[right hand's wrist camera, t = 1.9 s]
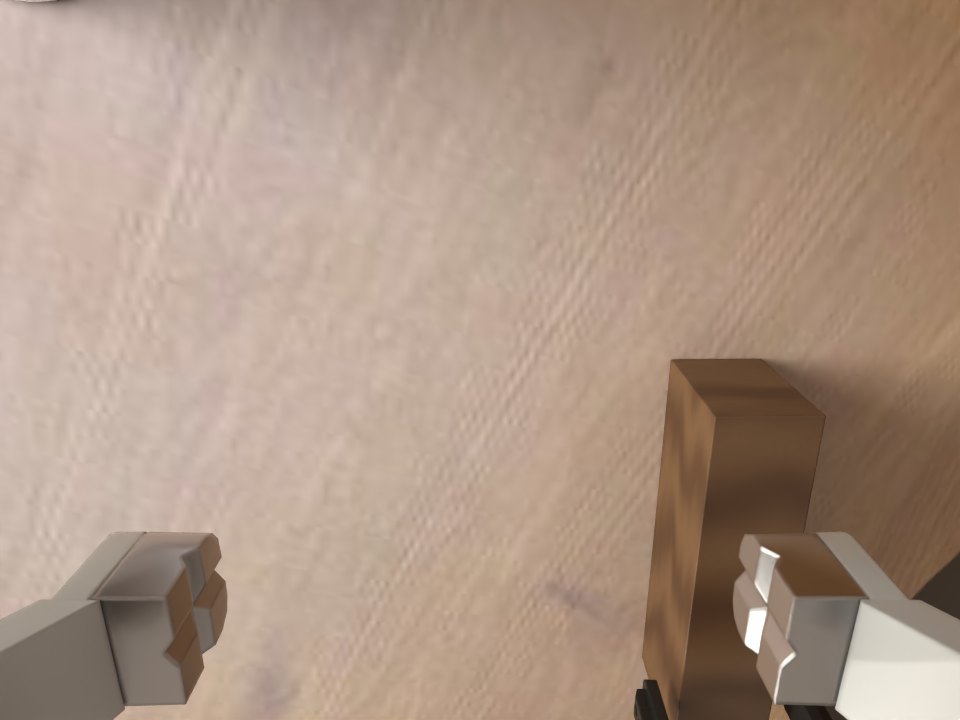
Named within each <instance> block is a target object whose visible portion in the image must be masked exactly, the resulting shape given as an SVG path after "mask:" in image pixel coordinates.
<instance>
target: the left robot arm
mask: <svg viewBox="0 0 960 720" xmlns="http://www.w3.org/2000/svg"><path fill="white" fill-rule="evenodd" d="M784 708H785V710H786V712H787V714H788V716H789V718H790V720H832V718H831V717H830V715H829V713H828V711H827V710H826V708H825V706H815V705H784ZM634 717H635V720H669V719H668V716H667V712H666V709H665V706H664V702H663V699H662V696H661V693H660V689H659V686H658V683H657V680H644V681H643V689H637V692H636V696H635V706H634Z"/></svg>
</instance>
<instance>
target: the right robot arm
mask: <svg viewBox="0 0 960 720" xmlns="http://www.w3.org/2000/svg"><path fill="white" fill-rule="evenodd" d="M16 1H26V2H47V1H55V0H16ZM220 559H221V551H220V546H219V541H218V538H217V537H216V536H215V535H214V534H213V533H176V532H149V533H147V532H116V533H113V534H109V535H108V536H107V538H106V539H105V540H104V541H103V542H102V543H101V544H100V545H99V546H98V548H97V549H96V550H95V551H94V552H93V553H92V554H91V555H90V557H89V558H88V559H87V560H86V561H85V562H84V563H83V564H82V566H81V567H80V568H79V569H78V570H77V571H76V572H75V573H74V575H73V576H72V577H71V578H70V579H69V580H68V581H67V582H66V584H65V585H64V586H63V587H62V588H61V589H60V590H59V591H58V592H57V594H56V595H55V596H54V597H53V598H52V599H51V600H39V601H37V602H35V603H33V604H31V605H29V606H27V607H25V608H23V609H21V610H19V611H17V612H15V613H13V614H11V615H9V616H7V617H5V618H3V619H1V620H0V720H113V719H114V718H115V717H116V716H118V715H119V714H120V713H121V712H122V711H123V710H125V707H124V706H145V705H179V704H186V703H187V701H188V699H189V697H190V695H191V693H192V691H193V689H194V687H195V685H196V683H197V681H198V679H199V677H200V675H201V673H202V671H203V669H204V664H203V658H202V654H203V653H204V652H206V651H207V650H209V649H210V648H212V647H213V646H214V645H216V643H217V641H218V639H219V636H220V634H221V632H222V630H223V626H224V621H225V617H226V613H227V589H226V582H225V580H224V579H223V578H222V577H221V576H220V575H219V574H218V573H217V572H216V571H215V570H214V569H215V568H216V566H217V564H218V562H219V561H220ZM739 559H740V561H741V562H742V564H743V566H744V568H745V569H746V570H745V571H744V572H743V573H742V574H741V575H740V576H739V577H738V578H737V579H736V580H735V583H734V591H733V611H734V619H735V622H736V626H737V629H738V632H739V634H740V637H741V639H742V641H743V643H744V645H746V646H747V647H748V648H750V649H751V650H753V651H754V652H756V653H757V654H758V658H757V664H756V669H757V671H758V673H759V675H760V677H761V679H762V681H763V683H764V685H765V687H766V689H767V691H768V693H769V695H770V697H771V699H772V701H773V702H774V704H779V705H815V706H836V707H835V709H836V710H837V711H838V712H839V713H840V714H842V715H843V716H844V717H845V718H846V719H848V720H960V620H959V619H957V618H955V617H953V616H951V615H949V614H947V613H945V612H943V611H941V610H939V609H937V608H935V607H933V606H931V605H929V604H927V603H925V602H923V601H921V600H909V599H908V598H907V597H906V596H905V595H904V594H903V592H902V591H901V590H900V589H899V588H898V587H897V586H896V585H895V584H894V582H893V581H892V580H891V579H890V578H889V577H888V576H887V575H886V573H885V572H884V571H883V570H882V569H881V568H880V567H879V566H878V564H877V563H876V562H875V561H874V560H873V559H872V558H871V557H870V555H869V554H868V553H867V552H866V551H865V550H864V549H863V548H862V546H861V545H860V544H859V543H858V542H857V541H856V540H855V539H854V538H853V536H852V535H850V534H848V533H846V532H844V531H839V532H811V533H785V534H745V535H744V537H743V539H742V542H741V545H740V551H739Z"/></svg>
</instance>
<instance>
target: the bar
mask: <svg viewBox="0 0 960 720" xmlns="http://www.w3.org/2000/svg"><path fill="white" fill-rule="evenodd" d="M824 422H825V415H824V414H823V413H822V412H821V411H819V410H818V409H817V408H816V407H815V406H814V405H813V404H811V403H810V402H809V401H808V400H807V399H806V398H805V397H804V396H802V395H801V394H800V393H799V392H798V391H797V390H796V389H794V388H793V387H792V386H791V385H790V384H789V383H788V382H786V381H785V380H784V379H783V378H782V377H781V376H780V375H779V374H777V373H776V372H775V371H774V370H773V369H772V368H771V367H769V366H768V365H767V364H766V363H765V362H764V361H763V360H761V359H686V360H671V365H670V375H669V386H668V396H667V406H666V416H665V427H664V437H663V447H662V458H661V468H660V478H659V489H658V499H657V509H656V520H655V530H654V540H653V551H652V561H651V571H650V582H649V592H648V602H647V613H646V623H645V633H644V643H643V654H642V658H643V661H644V665H645V668H646V671H647V675H648V678H649V680H657V683H658V686H659V689H660V693H661V696H662V699H663V702H664V706H665V709H666V712H667V716H668V719H669V720H769V716H770V711H771V706H772V699H771V697H770V695H769V693H768V691H767V689H766V687H765V685H764V683H763V681H762V679H761V677H760V675H759V673H758V671H757V669H756V664H757V658H758V654H757V653H756V652H754V651H753V650H751V649H750V648H748V647H747V646H746V645H744V643H743V641H742V639H741V637H740V634H739V632H738V629H737V626H736V622H735V619H734V611H733V591H734V583H735V580H736V579H737V578H738V577H739V576H740V575H741V574H742V573H743V572H744V571H745V570H746V569H745V568H744V566H743V564H742V562H741V561H740V559H739V551H740V545H741V542H742V539H743V537H744V535H745V534H785V533H804V529H805V524H806V518H807V513H808V508H809V502H810V497H811V492H812V486H813V481H814V476H815V470H816V465H817V460H818V454H819V449H820V444H821V438H822V433H823V427H824Z"/></svg>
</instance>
